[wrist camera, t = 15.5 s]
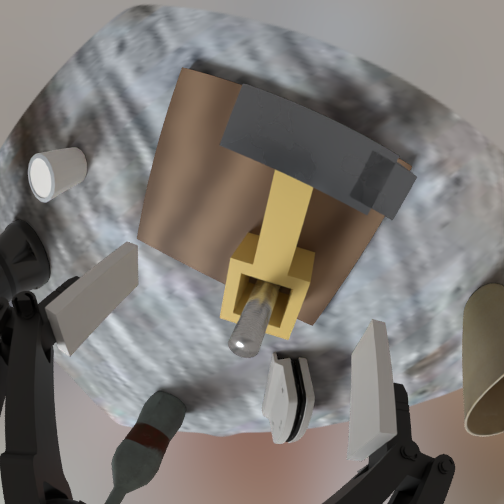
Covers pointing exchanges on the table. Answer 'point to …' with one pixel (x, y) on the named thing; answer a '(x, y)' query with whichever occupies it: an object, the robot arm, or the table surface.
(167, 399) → the bottle
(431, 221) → the table surface
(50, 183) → the white cylinder
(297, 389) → the white d-shaped block
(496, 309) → the plant pot
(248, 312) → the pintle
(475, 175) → the table surface
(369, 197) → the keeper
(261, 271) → the link
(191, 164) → the board
